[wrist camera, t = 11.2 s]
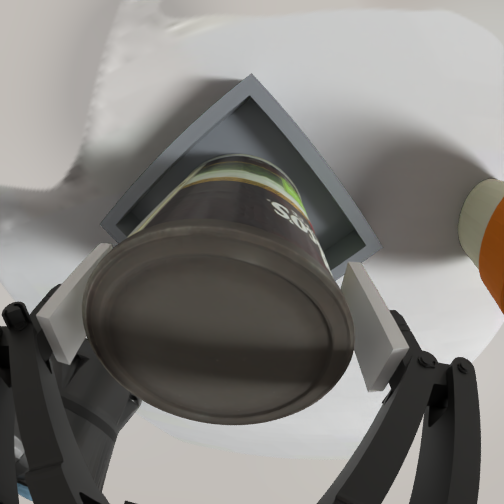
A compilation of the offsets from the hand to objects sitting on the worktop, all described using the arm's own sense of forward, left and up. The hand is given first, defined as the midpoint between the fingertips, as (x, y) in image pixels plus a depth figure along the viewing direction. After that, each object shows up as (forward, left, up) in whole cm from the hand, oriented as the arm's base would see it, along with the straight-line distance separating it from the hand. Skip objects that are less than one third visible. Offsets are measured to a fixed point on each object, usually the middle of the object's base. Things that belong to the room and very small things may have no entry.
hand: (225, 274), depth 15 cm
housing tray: (0, 0, -9) cm, 9 cm away
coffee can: (0, 0, -8) cm, 8 cm away
